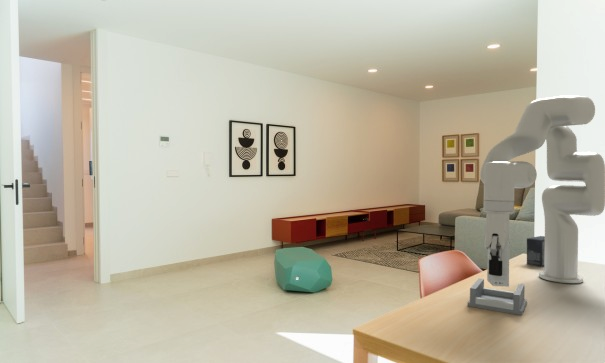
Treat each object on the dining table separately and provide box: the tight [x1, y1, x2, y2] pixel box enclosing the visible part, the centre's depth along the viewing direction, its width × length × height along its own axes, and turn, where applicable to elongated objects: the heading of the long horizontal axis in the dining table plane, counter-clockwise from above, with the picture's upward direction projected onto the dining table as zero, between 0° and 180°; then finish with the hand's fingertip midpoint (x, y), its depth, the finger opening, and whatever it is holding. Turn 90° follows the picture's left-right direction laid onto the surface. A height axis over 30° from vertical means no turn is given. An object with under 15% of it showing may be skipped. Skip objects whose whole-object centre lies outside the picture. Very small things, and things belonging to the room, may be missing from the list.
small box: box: [526, 235, 545, 268], centre depth 161 cm, size 11×6×10 cm, turn 122°
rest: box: [467, 278, 528, 316], centre depth 111 cm, size 12×13×5 cm
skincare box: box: [486, 241, 510, 288], centre depth 111 cm, size 6×4×12 cm
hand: (497, 271), depth 111 cm, fingers closed on skincare box, 7 cm apart
